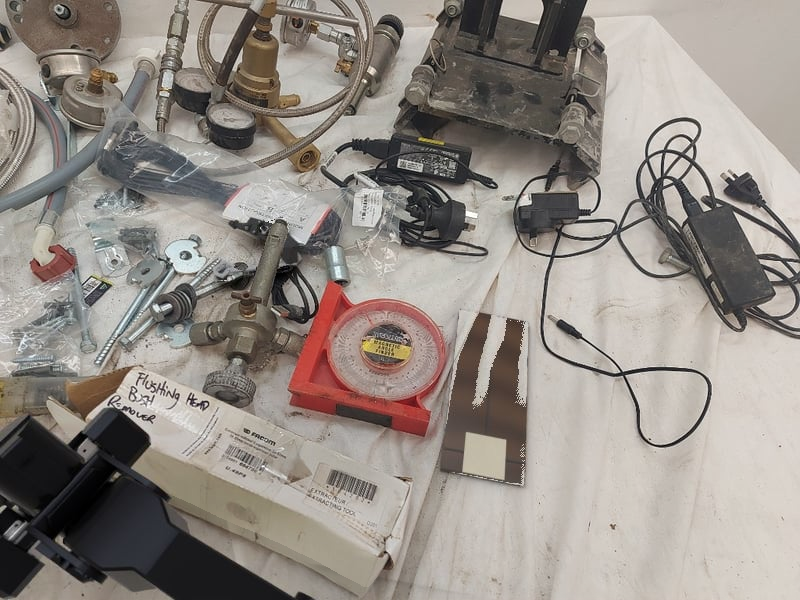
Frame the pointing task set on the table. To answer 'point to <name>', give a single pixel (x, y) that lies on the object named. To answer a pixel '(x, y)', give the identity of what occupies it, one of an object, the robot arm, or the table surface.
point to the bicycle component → (253, 227)
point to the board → (487, 410)
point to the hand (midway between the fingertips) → (43, 484)
